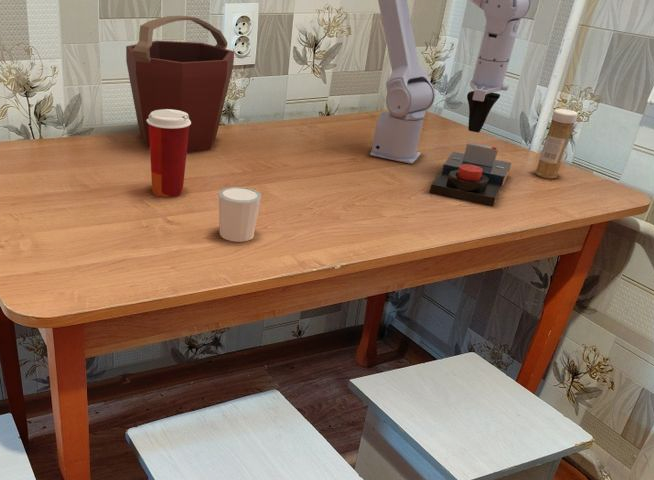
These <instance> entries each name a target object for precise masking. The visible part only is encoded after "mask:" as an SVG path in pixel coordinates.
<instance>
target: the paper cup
mask: <svg viewBox="0 0 654 480" xmlns="http://www.w3.org/2000/svg"><path fill="white" fill-rule="evenodd" d="M146 121H147V123H148V124H149V137H150V148H149V157H150V158H149V159H150V172H151V173H150V174H151V175H150V176H151V189H152V194H153V195H156V196H157V197H163V198H175V197H179V196H181V195H182V194H183V191H184V185H185V183H184V181H185V173H186V163H187V154H188V152H187V145H188V133H189V125H191V121H190V120H189V115H188V114H187V113H186V112H183V111H179V110H172V109H161V110H155V111H152V112H151V113H150V115H149V118H148V119H147V120H146Z"/></svg>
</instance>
